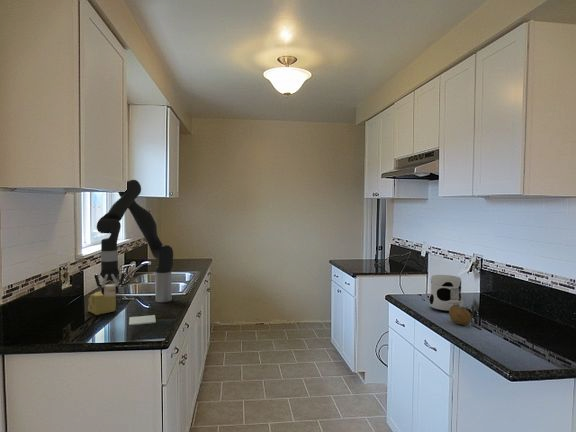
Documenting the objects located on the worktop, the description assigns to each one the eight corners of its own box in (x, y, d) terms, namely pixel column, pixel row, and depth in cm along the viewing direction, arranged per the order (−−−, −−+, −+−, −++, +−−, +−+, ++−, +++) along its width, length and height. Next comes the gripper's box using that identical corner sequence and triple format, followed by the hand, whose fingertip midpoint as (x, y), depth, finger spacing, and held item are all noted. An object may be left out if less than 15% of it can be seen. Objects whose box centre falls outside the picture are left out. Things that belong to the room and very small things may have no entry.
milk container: (433, 304, 228) (434, 273, 228) (465, 309, 218) (466, 276, 218) (424, 310, 214) (425, 277, 214) (458, 316, 204) (459, 281, 204)
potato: (456, 328, 183) (457, 311, 183) (444, 319, 197) (444, 304, 197) (477, 328, 183) (477, 311, 183) (463, 319, 198) (463, 304, 197)
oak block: (105, 294, 194) (104, 284, 194) (116, 294, 196) (115, 284, 196) (104, 297, 189) (104, 286, 189) (115, 296, 191) (115, 286, 191)
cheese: (87, 311, 209) (87, 293, 209) (108, 307, 217) (108, 289, 217) (95, 315, 202) (95, 296, 202) (116, 311, 210) (116, 292, 210)
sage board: (129, 318, 197) (129, 317, 197) (154, 316, 201) (154, 315, 201) (129, 325, 186) (129, 324, 186) (155, 322, 190) (155, 321, 190)
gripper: (92, 261, 186) (93, 297, 186) (125, 259, 191) (125, 294, 192) (94, 259, 193) (94, 293, 193) (125, 257, 198) (126, 291, 199)
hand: (110, 294), depth 193 cm, fingers closed on oak block, 5 cm apart
